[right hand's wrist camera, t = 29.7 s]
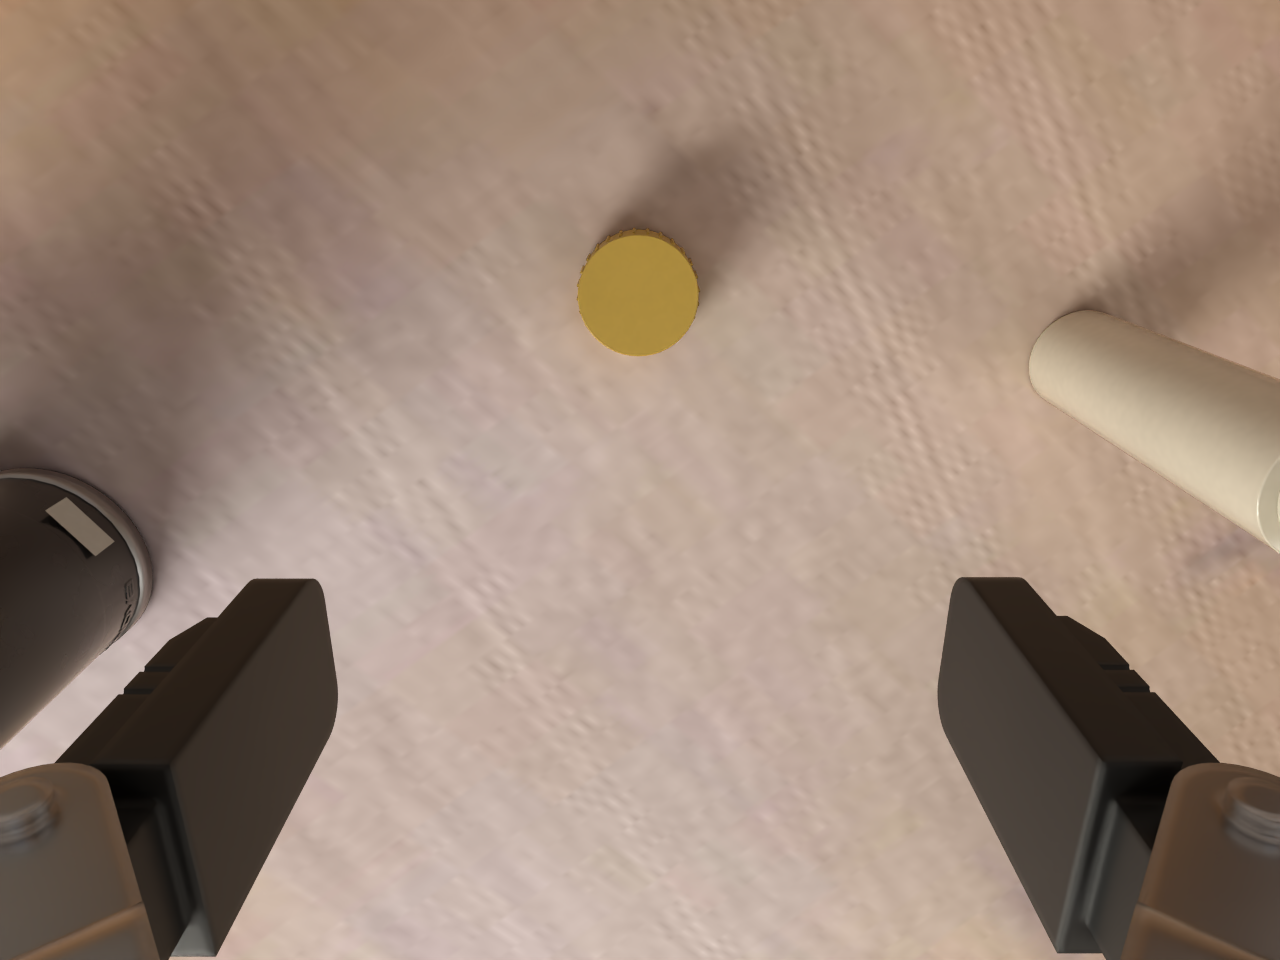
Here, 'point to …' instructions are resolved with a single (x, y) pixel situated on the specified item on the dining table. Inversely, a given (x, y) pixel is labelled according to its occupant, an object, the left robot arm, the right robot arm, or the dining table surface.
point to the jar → (1170, 412)
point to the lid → (638, 292)
